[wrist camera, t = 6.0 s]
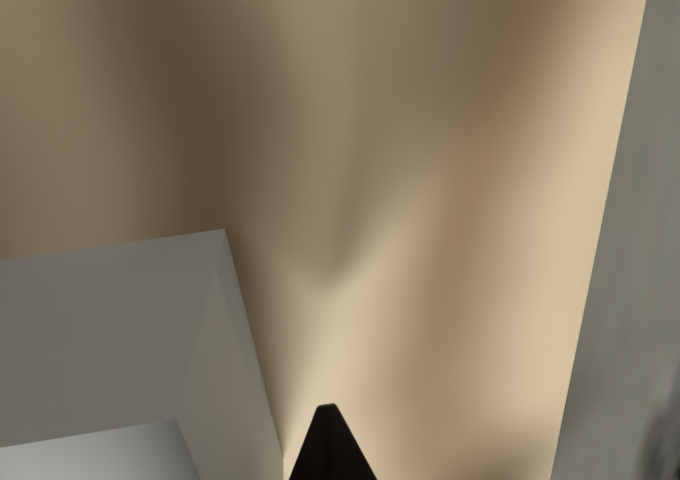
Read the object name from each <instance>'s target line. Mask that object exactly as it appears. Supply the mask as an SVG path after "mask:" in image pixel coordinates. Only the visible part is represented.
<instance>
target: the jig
mask: <svg viewBox="0 0 680 480" xmlns="http://www.w3.org/2000/svg"><path fill="white" fill-rule="evenodd" d="M645 3H646V0H0V260H4V259H12V258H19V257H26V256H33V255H40V254H47V253H54V252H62V251H69V250H76V249H83V248H90V247H97V246H104V245H112V244H119V243H126V242H133V241H140V240H147V239H155V238H162V237H169V236H176V235H183V234H190V233H197V232H205V231H212V230H219V229H225V230H226V234H227V238H228V242H229V246H230V250H231V254H232V258H233V262H234V266H235V270H236V274H237V278H238V281H239V285H240V289H241V293H242V297H243V301H244V305H245V309H246V313H247V317H248V321H249V325H250V329H251V333H252V337H253V341H254V345H255V349H256V353H257V357H258V361H259V364H260V368H261V372H262V376H263V380H264V384H265V388H266V392H267V396H268V400H269V404H270V408H271V412H272V416H273V420H274V424H275V428H276V432H277V436H278V440H279V444H280V447H281V451H282V455H283V461H284V480H289V477H290V475H291V472H292V470H293V467H294V464H295V462H296V459H297V457H298V454H299V452H300V449H301V446H302V444H303V441H304V439H305V436H306V433H307V431H308V428H309V426H310V423H311V421H312V418H313V415H314V413H315V410H316V408H317V407H318V406H319V405H322V404H329V403H335V404H336V405H337V406H338V408H339V410H340V412H341V414H342V415H343V417H344V419H345V421H346V423H347V425H348V426H349V428H350V430H351V432H352V434H353V436H354V437H355V439H356V441H357V443H358V445H359V447H360V448H361V450H362V452H363V454H364V456H365V458H366V459H367V461H368V463H369V465H370V467H371V469H372V470H373V472H374V474H375V476H376V478H377V480H550V477H551V472H552V467H553V462H554V457H555V452H556V447H557V442H558V437H559V432H560V427H561V422H562V417H563V412H564V407H565V402H566V397H567V392H568V387H569V382H570V377H571V372H572V367H573V362H574V357H575V352H576V347H577V342H578V337H579V332H580V327H581V322H582V317H583V312H584V307H585V302H586V297H587V292H588V287H589V282H590V277H591V272H592V268H593V263H594V258H595V253H596V248H597V243H598V238H599V233H600V228H601V223H602V218H603V213H604V208H605V203H606V198H607V193H608V188H609V183H610V178H611V173H612V168H613V163H614V158H615V153H616V148H617V143H618V138H619V133H620V128H621V123H622V118H623V113H624V108H625V103H626V98H627V93H628V88H629V83H630V78H631V73H632V68H633V63H634V58H635V53H636V48H637V43H638V38H639V33H640V28H641V23H642V18H643V13H644V8H645Z"/></svg>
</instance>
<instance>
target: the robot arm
mask: <svg viewBox="0 0 680 480" xmlns="http://www.w3.org/2000/svg"><path fill="white" fill-rule="evenodd" d="M289 480H377V478H376V476H375V474H374V472H373V470H372V469H371V467H370V465H369V463H368V461H367V459H366V458H365V456H364V454H363V452H362V450H361V448H360V447H359V445H358V443H357V441H356V439H355V437H354V436H353V434H352V432H351V430H350V428H349V426H348V425H347V423H346V421H345V419H344V417H343V415H342V414H341V412H340V410H339V408H338V406H337V405H336V404H335V403H329V404H322V405H319V406H318V407H317V408H316V410H315V413H314V415H313V418H312V421H311V423H310V426H309V428H308V431H307V433H306V436H305V439H304V441H303V444H302V446H301V449H300V452H299V454H298V457H297V459H296V462H295V464H294V467H293V470H292V472H291V475H290V477H289Z"/></svg>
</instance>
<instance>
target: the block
mask: <svg viewBox="0 0 680 480" xmlns="http://www.w3.org/2000/svg"><path fill="white" fill-rule="evenodd" d="M0 480H284V461H283V455H282V451H281V447H280V444H279V440H278V436H277V432H276V428H275V424H274V420H273V416H272V412H271V408H270V404H269V400H268V396H267V392H266V388H265V384H264V380H263V376H262V372H261V368H260V364H259V361H258V357H257V353H256V349H255V345H254V341H253V337H252V333H251V329H250V325H249V321H248V317H247V313H246V309H245V305H244V301H243V297H242V293H241V289H240V285H239V281H238V278H237V274H236V270H235V266H234V262H233V258H232V254H231V250H230V246H229V242H228V238H227V234H226V230H225V229H219V230H212V231H205V232H197V233H190V234H183V235H176V236H169V237H162V238H155V239H147V240H140V241H133V242H126V243H119V244H112V245H104V246H97V247H90V248H83V249H76V250H69V251H62V252H54V253H47V254H40V255H33V256H26V257H19V258H12V259H4V260H0Z"/></svg>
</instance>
